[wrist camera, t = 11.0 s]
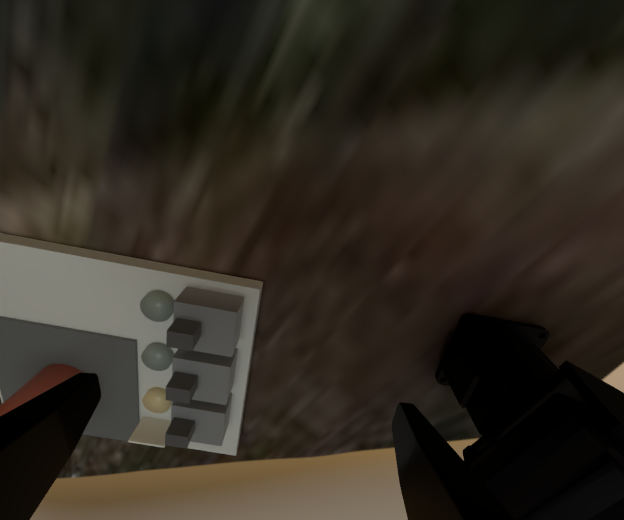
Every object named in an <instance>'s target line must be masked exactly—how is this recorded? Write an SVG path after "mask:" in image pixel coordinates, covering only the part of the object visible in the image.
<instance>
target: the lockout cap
mask: <svg viewBox="0 0 624 520" xmlns="http://www.w3.org/2000/svg"><path fill="white" fill-rule="evenodd" d="M80 372H82V371H80V370H78V369H76V368H74V367H72V366H69V365H64V364H52V365H48V366H46V367H44V368H43V369H42V370H41V371H40V372H38V373H37V374H36V375H35V376H34V377H33V378H31V379H30V380H29V381H28V382H27V383H26V384H25V385H23V386H22V387H21V388H20V389H19V390H18V391H16V392H15V393H14V394H13V395H12V396H11V397H9V398H8V399H7V400H6V401H5V402H4V403H2V404H1V405H0V416H2V415H3V414H5V413H7V412H9V411H11V410H13V409H14V408H16V407H18V406H20V405H22V404H23V403H25V402H27V401H29V400H31V399H32V398H34V397H36V396H38V395H40V394H41V393H43V392H45V391H47V390H49V389H51V388H52V387H54V386H56V385H58V384H60V383H61V382H63V381H65V380H67V379H69V378H70V377H72V376H74V375H76V374H78V373H80Z"/></svg>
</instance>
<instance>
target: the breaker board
mask: <svg viewBox="0 0 624 520" xmlns="http://www.w3.org/2000/svg"><path fill="white" fill-rule="evenodd" d="M262 287H263V282H262V281H257V280H251V279H246V278H241V277H235V276H230V275H225V274H219V273H214V272H208V271H203V270H198V269H192V268H187V267H181V266H176V265H171V264H165V263H160V262H155V261H149V260H144V259H138V258H133V257H128V256H122V255H117V254H111V253H106V252H101V251H95V250H90V249H85V248H79V247H74V246H68V245H63V244H58V243H52V242H47V241H41V240H36V239H31V238H25V237H20V236H15V235H9V234H4V233H0V397H1V401H2V403H4V402H5V401H6V400H7V399H8V398H9V397H11V396H12V395H13V394H14V393H15V392H16V391H18V390H19V389H20V388H21V387H22V386H23V385H25V384H26V383H27V382H28V381H29V380H30V379H31V378H33V377H34V376H35V375H36V374H37V373H38V372H40V371H41V370H42V369H43V368H44V367H46V366H48V365H52V364H64V365H69V366H72V367H74V368H76V369H78V370H80V371H82V372H91V373H96V374H97V375H98V378H99V383H100V388H101V399H100V402H99V404H98V406H97V408H96V409H95V411H94V413H93V415H92V417H91V419H90V421H89V423H88V425H87V427H86V428H85V430H84V432H83V434H84V435H91V436H97V437H103V438H110V439H116V440H122V441H128V442H131V443H138V444H144V445H150V446H157V447H163V448H164V447H165V445H167V446H173V447H180V448H186V449H187V448H190V449H197V450H203V451H209V452H216V453H222V454H229V455H235V456H236V453H237V449H238V446H239V441H240V434H241V427H242V421H243V414H244V407H245V400H246V394H247V387H248V380H249V374H250V367H251V360H252V354H253V347H254V340H255V334H256V327H257V320H258V313H259V307H260V300H261V293H262Z"/></svg>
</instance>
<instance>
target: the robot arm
mask: <svg viewBox="0 0 624 520" xmlns="http://www.w3.org/2000/svg"><path fill="white" fill-rule="evenodd" d="M470 319H471V321H470V322H467V321H468V320H470ZM540 333H541V334H540ZM539 334H540V335H539ZM548 337H549V332H548V331H547V330H546V329H545V328H544V327H540V326H535V325H530V324H524V323H519V322H513V321H508V320H503V319H497V318H492V317H487V316H481V315H476V314H471V313H468V314H465V315H464V316H463V317H462V318H461V320H460V322H459V325H458V327H457V329H456V331H455V333H454V336H453V338H452V339H451V340H450V342H449V344H448V346H447V348H446V351H445V353H444V355H443V357H442V359H441V362H440V366H439V369H438V371H437V373H436V376H435V377H436V380H437V382H438V383H439V384H442V385H448V386H451V388H452V390H453V392H454V394H455V396H456V398H457V400H458V402H459V404H460V405H461V407H462V408H466V409H467V411H468V413H469V415H470V417H471V419H472V420H473V422H474V424H475V426H476V428H477V430H478V432H479V434H481V435H483V436H482V437H480V438H479V439H478V440H477V441H476V442H475V443H474V444H472V445H471V446H467V447H466V448H465V449H464V450H463V457H464V461H463V460H462V459H461V458H460V457H459V455H458V454H457V453H456V452H455V451H454V450H453V448H452V447H451V446H450V445H449V444H448V443H447V442H446V441H445V439H444V438H443V437H442V436H441V435H440V434H439V433H438V431H437V430H436V429H435V428H434V427H433V426H432V425H431V424H430V422H429V421H428V420H427V419H426V418H425V417H424V416H423V415H422V413H421V412H420V411H419V410H418V409H417V408H416V407H415V406H414V405H413V404H411V403H402V402H401V403H399V404H398V406H397V409H396V412H395V415H394V418H393V421H392V431H393V438H394V446H395V453H396V460H397V468H398V475H399V481H400V487H401V491H402V496H403V500H404V504H405V509H406V513H407V517H408V520H624V393H623V392H621V391H619V390H618V389H616V388H614V387H612V386H611V385H609V384H607V383H605V382H604V381H602V380H600V379H598V378H597V377H595V376H593V375H591V374H590V373H588V372H586V371H584V370H583V369H581V368H579V367H577V366H575V365H574V364H572V363H570V362H568V361H565V362H564V363H563V364H562V365H560V366H559V368H560V369H558V368H557V367H556V366H555V365H554V364H553V363H552V362H551V361H550V360H549V358H548V357H547V356H546V355H545V354H544V353H543V352H542V351H541V349H542V347H543V345H544V344H545V342H546V340H547V339H548ZM442 377H444V378H442ZM100 399H101V388H100V383H99V378H98V375H97V374H96V373H91V372H80V373H78V374H76V375H74V376H72V377H70V378H69V379H67V380H65V381H63V382H61V383H60V384H58V385H56V386H54V387H52V388H51V389H49V390H47V391H45V392H43V393H41V394H40V395H38V396H36V397H34V398H32V399H31V400H29V401H27V402H25V403H23V404H22V405H20V406H18V407H16V408H14V409H13V410H11V411H9V412H7V413H5V414H3V415H2V416H0V520H30V518H31V517H32V515H33V513H34V512H35V510H36V509H37V507H38V506H39V504H40V503H41V501H42V500H43V498H44V497H45V495H46V493H47V492H48V490H49V489H50V487H51V486H52V484H53V483H54V481H55V480H56V478H57V477H58V475H59V474H60V472H61V470H62V469H63V467H64V466H65V464H66V463H67V461H68V459H69V458H70V456H71V454H72V453H73V451H74V449H75V447H76V445H77V444H78V442H79V440H80V438H81V436H82V434H83V432H84V430H85V428H86V427H87V425H88V423H89V421H90V419H91V417H92V415H93V413H94V411H95V409H96V408H97V406H98V404H99V402H100Z"/></svg>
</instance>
